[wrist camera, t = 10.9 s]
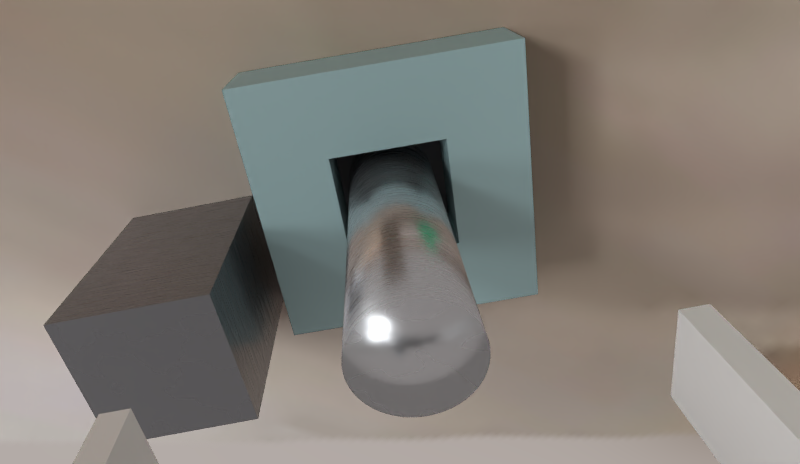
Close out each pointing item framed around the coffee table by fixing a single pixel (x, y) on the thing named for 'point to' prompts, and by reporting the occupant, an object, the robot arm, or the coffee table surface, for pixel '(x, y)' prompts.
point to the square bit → (176, 320)
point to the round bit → (407, 292)
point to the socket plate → (383, 129)
